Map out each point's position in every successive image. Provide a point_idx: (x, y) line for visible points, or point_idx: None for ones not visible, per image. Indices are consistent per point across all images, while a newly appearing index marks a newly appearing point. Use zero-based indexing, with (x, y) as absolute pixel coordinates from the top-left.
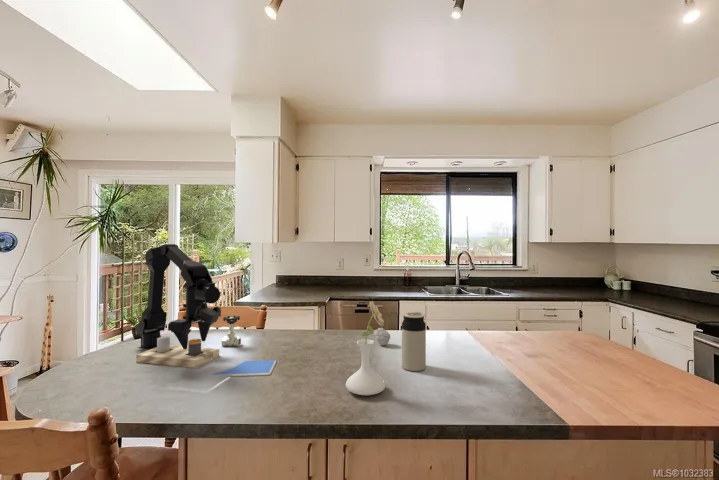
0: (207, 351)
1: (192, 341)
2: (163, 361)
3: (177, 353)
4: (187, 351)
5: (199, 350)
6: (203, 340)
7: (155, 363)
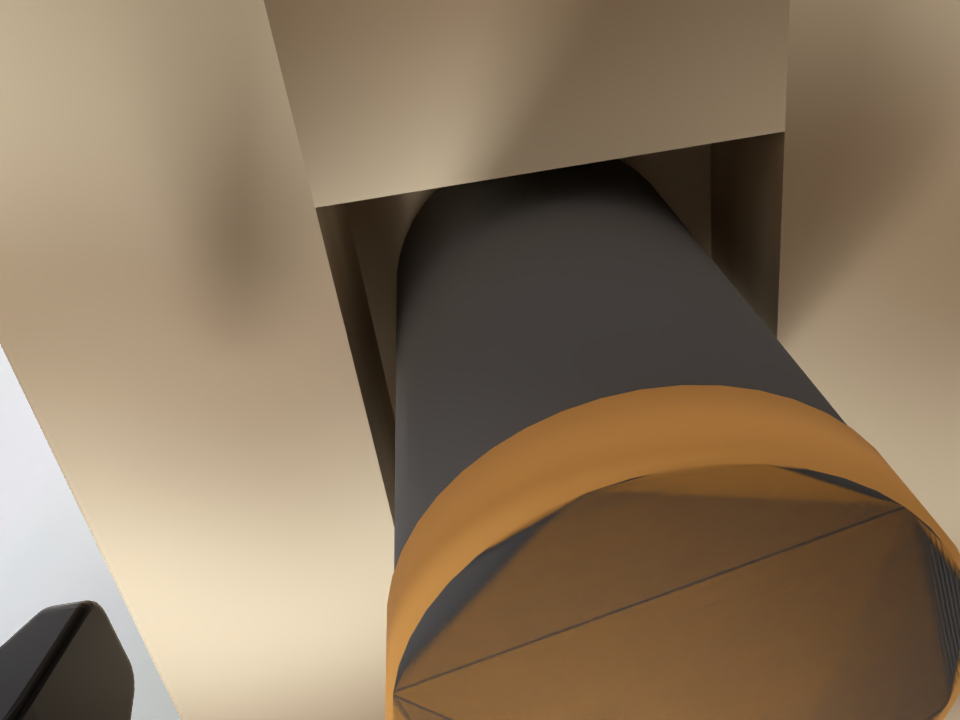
0: (266, 151)
1: (864, 664)
2: None
3: None
4: None
5: (583, 251)
6: (98, 655)
7: None
